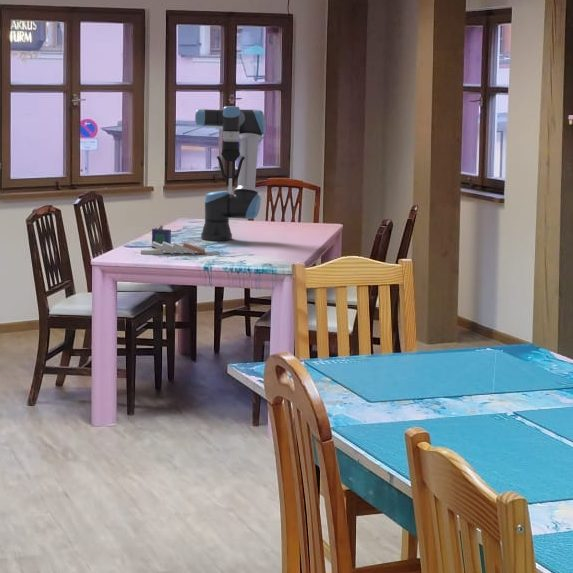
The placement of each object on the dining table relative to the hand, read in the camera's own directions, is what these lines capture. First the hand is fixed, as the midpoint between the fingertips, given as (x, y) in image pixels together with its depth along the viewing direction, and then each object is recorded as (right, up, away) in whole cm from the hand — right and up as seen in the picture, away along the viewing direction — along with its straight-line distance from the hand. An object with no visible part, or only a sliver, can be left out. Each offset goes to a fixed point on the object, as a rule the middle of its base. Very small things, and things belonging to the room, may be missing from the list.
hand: (230, 192), depth 542 cm
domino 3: (-20, -27, -10) cm, 35 cm away
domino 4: (-15, -27, -10) cm, 33 cm away
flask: (-32, -25, +6) cm, 41 cm away
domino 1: (-29, -27, -11) cm, 41 cm away
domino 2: (-25, -27, -11) cm, 38 cm away
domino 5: (-11, -27, -9) cm, 31 cm away
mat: (-19, -28, -10) cm, 35 cm away
